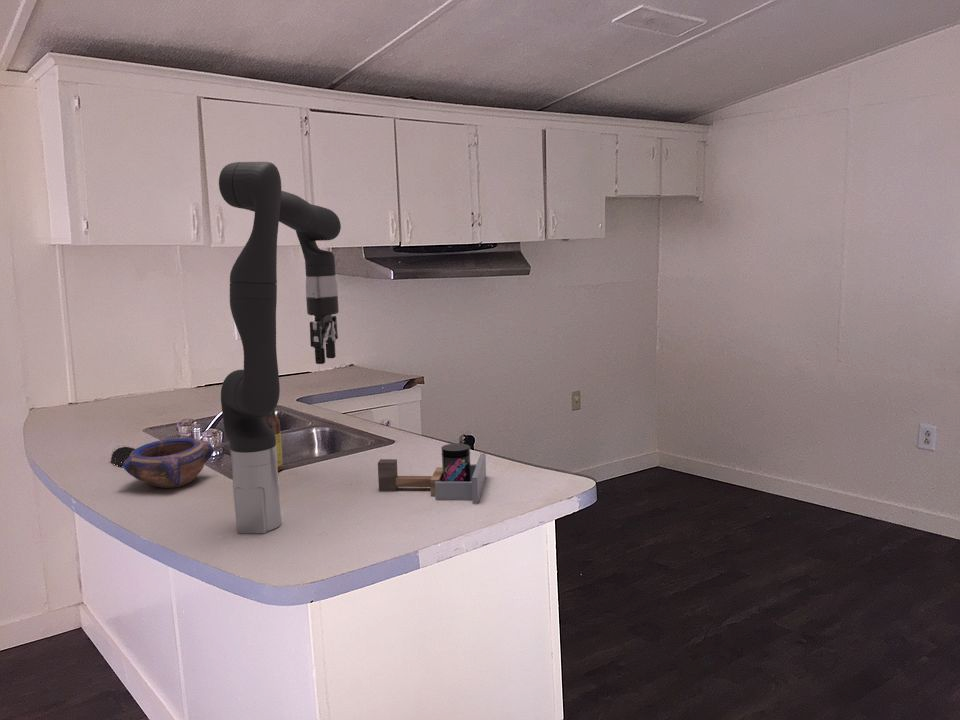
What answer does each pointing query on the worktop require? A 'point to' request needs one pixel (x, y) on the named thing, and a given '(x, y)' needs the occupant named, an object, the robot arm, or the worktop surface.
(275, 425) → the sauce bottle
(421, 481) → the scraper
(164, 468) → the bowl
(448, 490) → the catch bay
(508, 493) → the worktop surface
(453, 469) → the supplement container
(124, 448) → the hairbrush
